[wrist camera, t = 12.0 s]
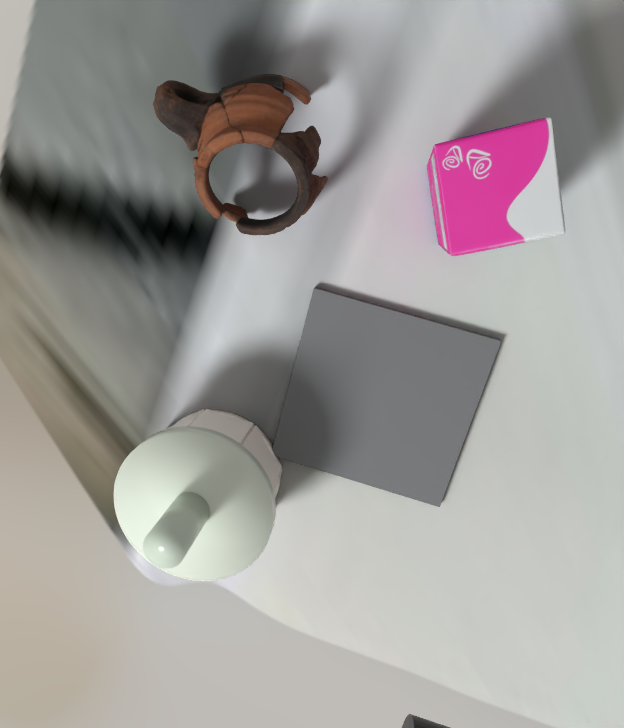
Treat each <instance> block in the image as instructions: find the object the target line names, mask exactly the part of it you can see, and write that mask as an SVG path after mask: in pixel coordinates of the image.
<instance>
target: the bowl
mask: <svg viewBox="0 0 624 728" xmlns="http://www.w3.org/2000/svg"><path fill="white" fill-rule="evenodd" d="M181 426H194V427H202V428H207V429H211V430H214V431H217V432H219V433H222V434H224V435H226V436H228V437H230V438H232V439H234V440H235V441H237V442H238V443H240V444H241V445H242V446H244V447H245V448H246V449H247V450H248V451H249V452H250V453H251V454H252V455H253V456H254V457H255V458H256V459H257V460H258V462H259V463H260V464H261V466H262V467H263V468H264V470H265V472H266V474H267V476H268V478H269V480H270V483H271V485H272V488H273V492H274V496H275V498H276V496H277V493H278V490H279V486H280V478H281V473H282V469H281V467H282V466H281V464H280V462H279V460H278V457H276V456H275V455H274V452H273V451H272V449H273V446H272V444H271V442H270V441H269V439H268V438H267V437H266V435H265V434H264V433H263V432H262V431H261V430H260V429H259V428H258V427H257V425H256V426H255V425H254V424H253V423H252V422H250V421H248V420H247V419H245V418H243V417H241V416H238V415H236V414H233V413H230V412H225V411H219V410H209V409H206V410H205V411H204V409H202V410H200V411H199V412H196V413H192V414H190V415H188V416H185V417H184V418H182V419H181V420H179V421H178V422H177V423H175V424H174V425H173V426H171V427H169V428H174V427H181ZM169 428H167V429H169ZM165 430H166V429H165Z"/></svg>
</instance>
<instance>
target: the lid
mask: <svg viewBox="0 0 624 728" xmlns="http://www.w3.org/2000/svg"><path fill="white" fill-rule="evenodd" d="M114 506H115V511H116V515H117V518H118V521H119V524H120V526H121V528H122V530H123V532H124V534H125V536H126V537H127V539H128V541H129V542H130V543H131V544H132V546H133V547H134V548H135V549H136V550H137V551H138V552H139V553H140V554H141V555H142V556H143V557H144V558H145V559H146V560H147V561H149V562H150V563H151V564H153V565H154V566H156V567H157V568H159V569H161V570H163V571H165V572H167V573H169V574H172V575H174V576H177V577H181V578H184V579H189V580H196V581H213V580H220V579H224V578H228V577H231V576H233V575H236V574H238V573H240V572H241V571H243V570H245V569H246V568H247V567H249V566H250V565H251V564H252V563H253V562H254V561H255V560H256V559H257V558H258V557H259V556H260V554H261V553H262V552H263V550H264V548H265V546H266V544H267V542H268V540H269V537H270V535H271V532H272V529H273V526H274V521H275V515H276V504H275V496H274V492H273V488H272V485H271V483H270V480H269V478H268V476H267V474H266V472H265V470H264V468H263V467H262V466H261V464H260V463H259V462H258V460H257V459H256V458H255V457H254V456H253V455H252V454H251V453H250V452H249V451H248V450H247V449H246V448H245V447H244V446H242V445H241V444H240V443H238V442H237V441H235V440H234V439H232V438H230V437H228V436H226V435H224V434H222V433H219V432H217V431H214V430H211V429H207V428H202V427H194V426H181V427H174V428H169V429H166V430H162V431H160V432H158V433H156V434H153V435H152V436H150V437H149V438H147V439H146V440H144V441H143V442H142V443H141V444H140V445H139V446H138V447H136V448H135V449H134V450H133V451H132V452H131V453H130V454H129V455H128V457H127V458H126V459H125V460H124V462H123V464H122V465H121V467H120V469H119V472H118V474H117V477H116V481H115V486H114Z"/></svg>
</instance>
